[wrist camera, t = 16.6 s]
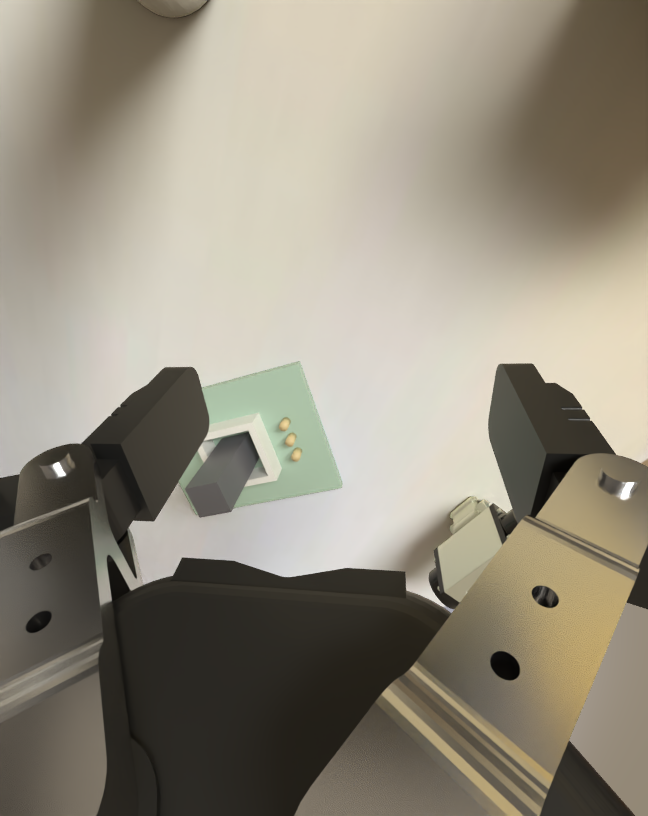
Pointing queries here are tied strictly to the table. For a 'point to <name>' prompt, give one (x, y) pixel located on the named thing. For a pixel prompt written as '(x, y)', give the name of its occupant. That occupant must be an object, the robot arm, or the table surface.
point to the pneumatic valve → (469, 548)
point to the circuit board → (270, 434)
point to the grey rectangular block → (223, 475)
